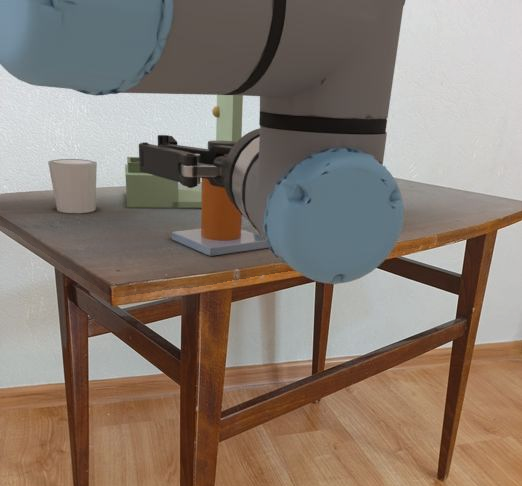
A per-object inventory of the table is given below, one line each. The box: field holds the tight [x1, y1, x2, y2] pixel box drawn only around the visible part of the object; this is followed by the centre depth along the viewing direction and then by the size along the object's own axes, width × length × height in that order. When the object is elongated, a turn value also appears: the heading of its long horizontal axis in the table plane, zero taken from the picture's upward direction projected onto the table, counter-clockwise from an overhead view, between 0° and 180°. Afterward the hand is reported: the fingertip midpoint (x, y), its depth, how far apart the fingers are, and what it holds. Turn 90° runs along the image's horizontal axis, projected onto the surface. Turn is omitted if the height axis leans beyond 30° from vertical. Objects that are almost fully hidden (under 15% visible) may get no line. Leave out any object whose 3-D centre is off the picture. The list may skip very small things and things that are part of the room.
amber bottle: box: [200, 140, 243, 241], centre depth 72 cm, size 5×5×11 cm
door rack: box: [124, 95, 244, 209], centre depth 96 cm, size 18×16×20 cm
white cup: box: [47, 158, 98, 214], centre depth 88 cm, size 7×7×7 cm
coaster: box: [171, 228, 270, 257], centre depth 75 cm, size 9×9×1 cm
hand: (231, 150), depth 64 cm, fingers open, 13 cm apart
